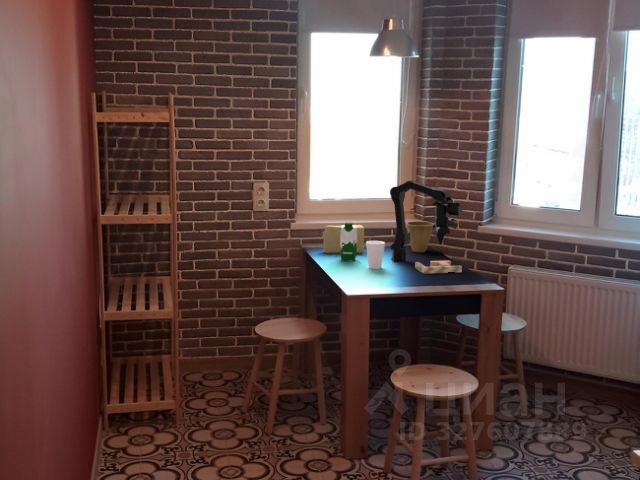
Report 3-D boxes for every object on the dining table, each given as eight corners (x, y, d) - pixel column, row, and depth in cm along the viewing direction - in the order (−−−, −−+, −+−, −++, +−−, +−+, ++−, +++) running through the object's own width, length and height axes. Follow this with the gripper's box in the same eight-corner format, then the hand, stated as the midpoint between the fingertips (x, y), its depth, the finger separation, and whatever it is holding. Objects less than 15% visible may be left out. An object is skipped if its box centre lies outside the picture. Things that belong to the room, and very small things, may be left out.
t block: (436, 272, 386) (437, 265, 385) (430, 267, 396) (430, 261, 395) (455, 271, 388) (456, 264, 387) (448, 267, 398) (448, 260, 397)
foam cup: (386, 266, 397) (387, 241, 394) (380, 270, 388) (381, 244, 386) (369, 264, 401) (370, 240, 398) (362, 268, 392) (363, 243, 390)
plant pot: (400, 249, 442) (401, 222, 439) (423, 247, 448) (424, 220, 445) (414, 254, 428) (415, 226, 425) (437, 252, 434) (438, 224, 432)
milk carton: (339, 261, 409) (340, 223, 405) (340, 257, 418) (341, 221, 414) (356, 261, 408) (356, 224, 404) (357, 258, 417) (357, 221, 413)
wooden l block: (423, 273, 382) (423, 267, 381) (414, 267, 394) (415, 262, 394) (461, 272, 386) (461, 266, 385) (452, 266, 398) (452, 261, 398)
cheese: (325, 254, 427) (325, 227, 424) (322, 250, 436) (322, 224, 434) (364, 253, 431) (364, 226, 428) (360, 249, 440) (361, 223, 437)
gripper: (460, 217, 386) (459, 247, 388) (453, 211, 404) (452, 241, 407) (438, 217, 385) (437, 247, 388) (432, 211, 404) (431, 241, 407)
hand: (440, 244), depth 397 cm, fingers closed
